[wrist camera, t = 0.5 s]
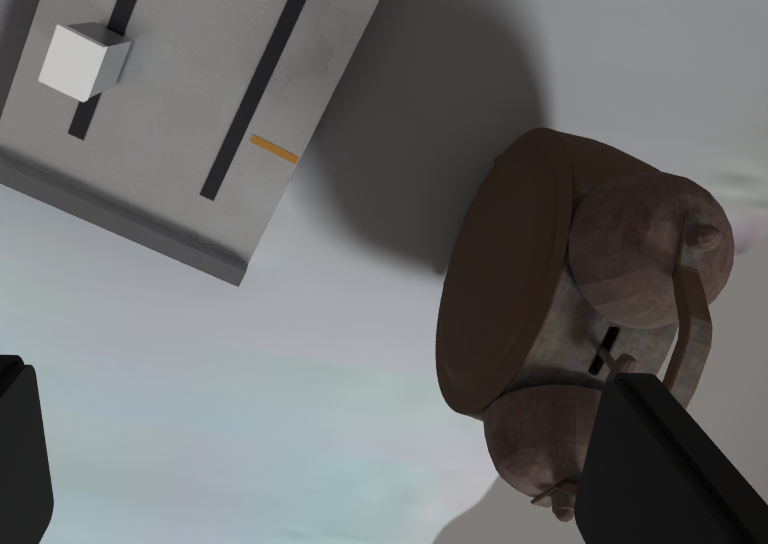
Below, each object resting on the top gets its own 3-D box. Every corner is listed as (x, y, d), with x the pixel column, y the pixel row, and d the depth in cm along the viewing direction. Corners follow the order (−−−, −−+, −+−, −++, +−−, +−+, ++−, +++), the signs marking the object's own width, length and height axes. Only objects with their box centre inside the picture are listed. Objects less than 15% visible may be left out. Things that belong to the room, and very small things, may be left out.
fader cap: (93, 20, 31) (57, 24, 27) (133, 40, 31) (103, 47, 27) (76, 69, 32) (37, 80, 27) (114, 88, 32) (83, 102, 28)
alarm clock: (513, 347, 43) (658, 614, 24) (409, 318, 41) (479, 579, 23) (614, 133, 38) (893, 266, 19) (500, 92, 36) (684, 192, 18)
